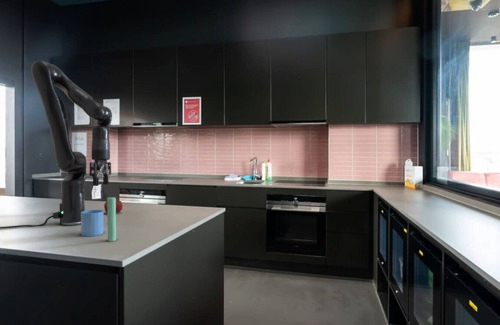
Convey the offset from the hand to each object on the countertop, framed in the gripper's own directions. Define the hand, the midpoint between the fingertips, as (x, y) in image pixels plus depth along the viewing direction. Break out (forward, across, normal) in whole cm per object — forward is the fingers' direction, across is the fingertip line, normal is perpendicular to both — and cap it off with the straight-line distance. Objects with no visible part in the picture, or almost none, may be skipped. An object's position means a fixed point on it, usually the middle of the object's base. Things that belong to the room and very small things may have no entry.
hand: (100, 185), depth 140 cm
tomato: (+17, -27, -8) cm, 33 cm away
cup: (+19, +15, +4) cm, 24 cm away
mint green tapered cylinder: (+19, +24, +17) cm, 35 cm away
